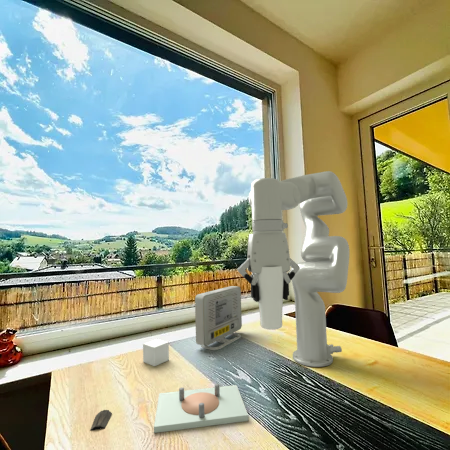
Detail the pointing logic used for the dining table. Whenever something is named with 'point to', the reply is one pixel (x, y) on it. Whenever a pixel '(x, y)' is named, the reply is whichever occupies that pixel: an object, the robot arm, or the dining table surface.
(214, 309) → the network device
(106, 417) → the block
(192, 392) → the pin nest plate
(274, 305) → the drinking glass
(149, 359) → the white cube
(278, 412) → the dining table surface
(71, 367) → the dining table surface
